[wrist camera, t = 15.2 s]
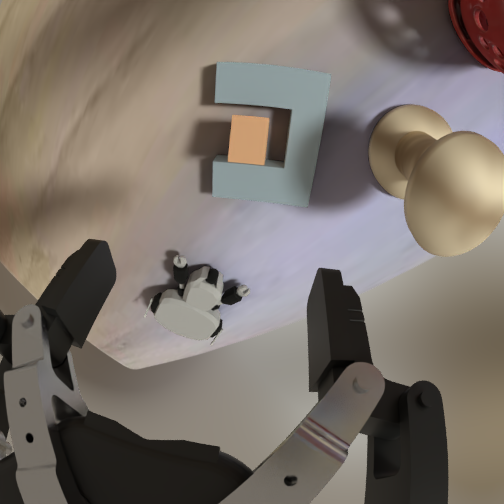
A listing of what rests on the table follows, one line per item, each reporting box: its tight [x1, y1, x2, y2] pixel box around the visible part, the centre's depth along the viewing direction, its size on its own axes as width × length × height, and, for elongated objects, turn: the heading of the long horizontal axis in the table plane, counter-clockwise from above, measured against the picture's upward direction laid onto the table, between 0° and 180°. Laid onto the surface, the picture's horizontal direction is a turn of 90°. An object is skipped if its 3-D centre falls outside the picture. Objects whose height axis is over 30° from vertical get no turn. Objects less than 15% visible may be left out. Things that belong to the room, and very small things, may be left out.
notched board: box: [212, 62, 331, 207], centre depth 25 cm, size 14×10×2 cm
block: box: [228, 115, 269, 165], centre depth 23 cm, size 4×3×5 cm
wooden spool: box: [368, 104, 504, 257], centre depth 20 cm, size 11×11×11 cm
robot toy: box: [144, 255, 250, 346], centre depth 40 cm, size 12×4×15 cm
